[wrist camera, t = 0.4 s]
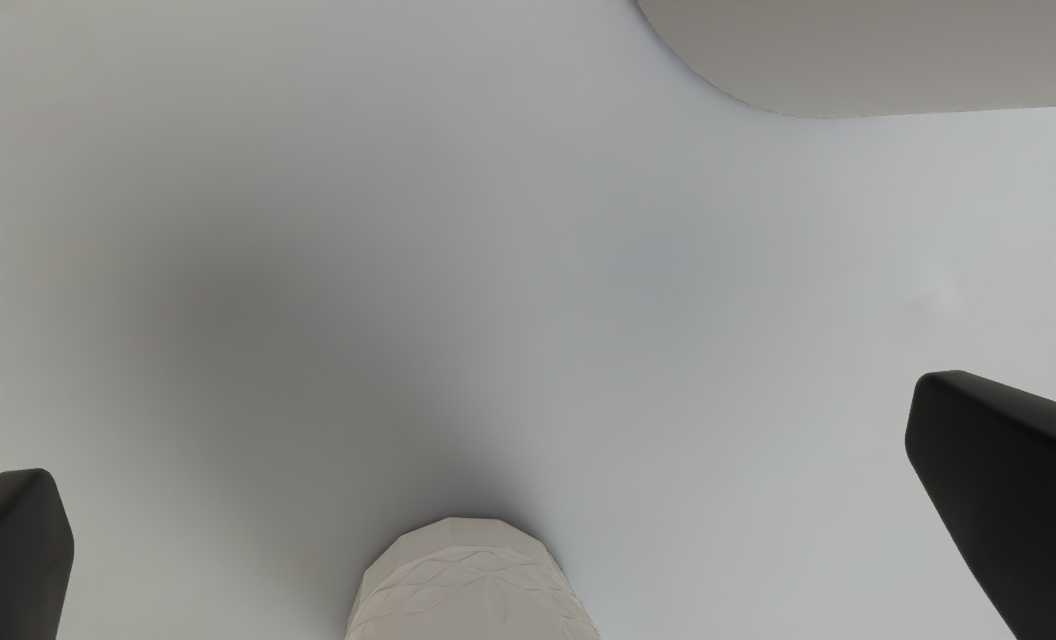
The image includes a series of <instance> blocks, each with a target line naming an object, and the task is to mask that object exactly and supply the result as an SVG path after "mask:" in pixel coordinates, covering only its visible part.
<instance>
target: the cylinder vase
mask: <svg viewBox="0 0 1056 640" xmlns="http://www.w3.org/2000/svg"><path fill="white" fill-rule="evenodd" d="M637 2H638V4H639V6H640V8H641V9H642V11H643V13H644V14H645V16H646V17H647V19H648V20H649V22H650V23H651V25H652V26H653V28H654V29H655V30H656V32H657V33H658V35H659V36H660V37H661V38H662V40H663V41H664V42H665V43H666V44H667V45H668V47H669V48H670V49H671V50H672V51H673V52H674V53H675V54H676V55H677V56H678V57H679V58H680V59H681V60H682V61H683V62H684V63H685V64H686V65H687V66H688V67H689V68H691V69H692V70H693V71H694V72H695V73H697V74H698V75H699V76H700V77H702V78H703V79H704V80H706V81H707V82H709V83H710V84H712V85H713V86H715V87H716V88H718V89H720V90H721V91H723V92H725V93H726V94H728V95H730V96H732V97H734V98H736V99H738V100H741V101H743V102H745V103H748V104H750V105H753V106H755V107H758V108H761V109H764V110H768V111H771V112H775V113H779V114H784V115H789V116H795V117H804V118H821V119H825V118H849V117H867V116H886V115H905V114H924V113H943V112H962V111H980V110H999V109H1018V108H1037V107H1056V0H637Z"/></svg>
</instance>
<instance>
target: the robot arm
mask: <svg viewBox="0 0 1056 640" xmlns="http://www.w3.org/2000/svg"><path fill="white" fill-rule="evenodd" d="M905 448H906V452H907V455H908V458H909V460H910V462H911V464H912V466H913V468H914V470H915V471H916V473H917V475H918V477H919V479H920V480H921V482H922V484H923V486H924V488H925V490H926V491H927V493H928V495H929V497H930V499H931V501H932V502H933V504H934V506H935V508H936V510H937V511H938V513H939V515H940V517H941V519H942V521H943V522H944V524H945V526H946V528H947V530H948V531H949V533H950V535H951V537H952V539H953V541H954V542H955V544H956V546H957V548H958V550H959V552H960V553H961V555H962V557H963V558H964V560H965V562H966V564H967V565H968V567H969V569H970V570H971V572H972V574H973V575H974V577H975V578H976V580H977V581H978V583H979V584H980V586H981V587H982V589H983V591H984V592H985V594H986V595H987V596H988V598H989V599H990V601H991V602H992V604H993V605H994V607H995V608H996V610H997V611H998V612H999V614H1000V615H1001V617H1002V618H1003V620H1004V621H1005V623H1006V624H1007V625H1008V627H1009V628H1010V630H1011V631H1012V633H1013V634H1014V636H1015V637H1016V638H1017V640H1056V402H1055V401H1052V400H1049V399H1046V398H1043V397H1040V396H1037V395H1034V394H1031V393H1028V392H1025V391H1022V390H1019V389H1016V388H1013V387H1010V386H1007V385H1004V384H1001V383H998V382H995V381H992V380H989V379H986V378H983V377H980V376H977V375H974V374H971V373H968V372H965V371H961V370H950V371H941V372H932V373H927V374H924V375H923V376H921V377H920V378H919V380H918V381H917V383H916V386H915V390H914V395H913V399H912V404H911V409H910V414H909V419H908V423H907V428H906V433H905ZM73 558H74V539H73V534H72V531H71V528H70V525H69V522H68V519H67V516H66V513H65V510H64V507H63V504H62V501H61V498H60V495H59V492H58V489H57V486H56V483H55V481H54V479H53V477H52V476H51V474H50V473H49V472H48V471H46V470H44V469H42V468H35V469H26V470H17V471H7V472H2V473H0V640H55V639H56V635H57V630H58V626H59V621H60V617H61V613H62V608H63V604H64V599H65V595H66V590H67V586H68V581H69V577H70V572H71V568H72V563H73Z"/></svg>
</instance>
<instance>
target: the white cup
mask: <svg viewBox="0 0 1056 640" xmlns="http://www.w3.org/2000/svg"><path fill="white" fill-rule="evenodd" d="M344 640H602V639H601V637H600V635H599V633H598V631H597V629H596V628H595V627H594V625H593V623H592V621H591V619H590V617H589V615H588V613H587V611H586V610H585V608H584V606H583V605H582V603H581V601H580V600H579V599H578V598H577V597H576V596H575V594H574V591H573V589H572V587H571V585H570V583H569V581H568V579H567V578H566V576H565V575H564V573H563V572H562V571H561V569H560V568H559V566H558V565H557V563H556V562H555V560H554V559H553V557H552V556H551V554H550V553H549V552H548V550H547V549H546V547H545V546H544V544H543V543H542V542H541V541H539V540H537V539H535V538H533V537H531V536H530V535H528V534H526V533H524V532H522V531H520V530H518V529H516V528H515V527H513V526H511V525H509V524H507V523H505V522H503V521H501V520H498V519H479V518H459V517H448V518H445V519H443V520H440V521H438V522H435V523H432V524H430V525H427V526H424V527H422V528H419V529H417V530H414V531H411V532H409V533H406V534H403V535H401V536H400V537H399V538H398V539H397V540H396V541H395V542H394V543H393V544H392V545H391V546H390V547H389V548H388V549H387V550H386V551H385V552H384V553H383V554H382V555H381V556H380V557H379V558H378V559H377V560H376V561H375V562H374V563H373V564H372V565H371V566H370V567H369V568H368V569H367V570H366V571H365V573H364V575H363V578H362V581H361V584H360V587H359V590H358V593H357V596H356V599H355V601H354V604H353V607H352V610H351V613H350V616H349V620H348V625H347V631H346V636H345V638H344Z"/></svg>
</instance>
